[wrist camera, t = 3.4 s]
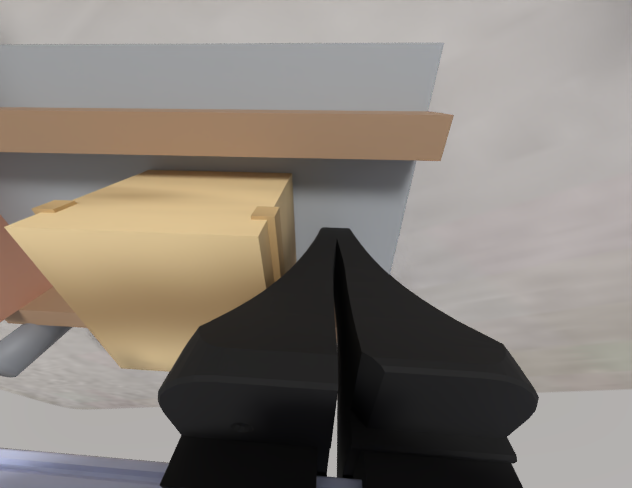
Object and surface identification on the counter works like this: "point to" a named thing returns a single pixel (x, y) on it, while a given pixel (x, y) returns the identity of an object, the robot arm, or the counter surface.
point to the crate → (162, 254)
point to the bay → (208, 140)
